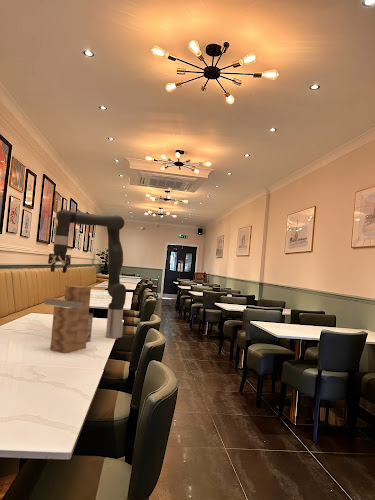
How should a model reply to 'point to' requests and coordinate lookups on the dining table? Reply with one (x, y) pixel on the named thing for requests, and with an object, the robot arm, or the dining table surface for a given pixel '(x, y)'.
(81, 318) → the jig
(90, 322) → the coffee box
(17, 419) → the dining table surface
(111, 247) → the robot arm
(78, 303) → the bar
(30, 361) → the dining table surface
